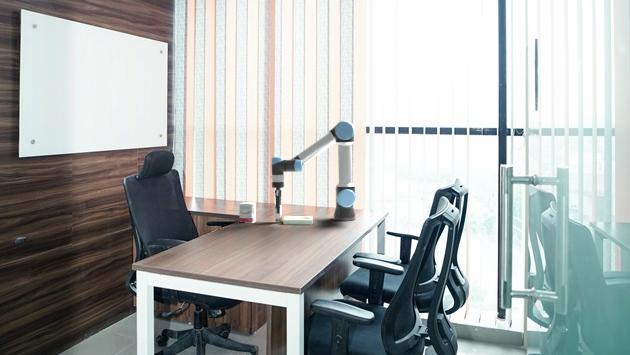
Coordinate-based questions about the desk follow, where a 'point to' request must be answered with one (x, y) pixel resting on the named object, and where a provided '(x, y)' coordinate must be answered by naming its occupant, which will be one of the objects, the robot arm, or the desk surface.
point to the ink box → (247, 212)
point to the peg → (281, 214)
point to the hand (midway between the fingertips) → (278, 217)
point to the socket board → (298, 220)
